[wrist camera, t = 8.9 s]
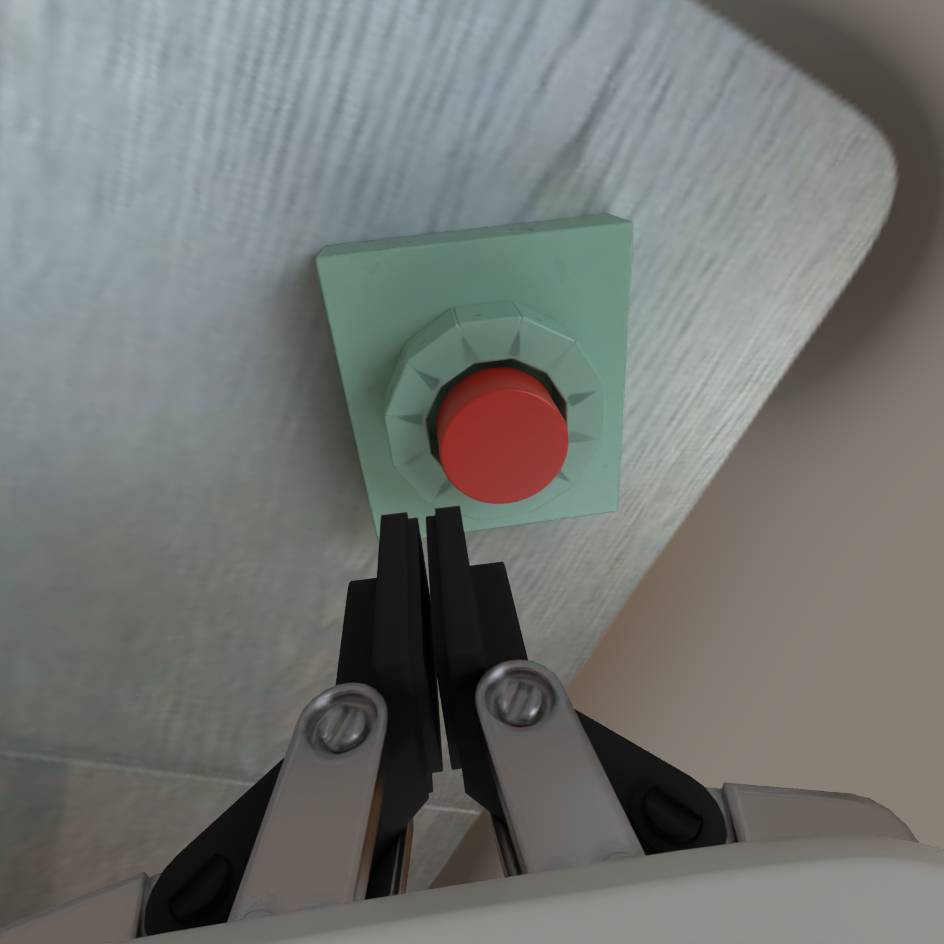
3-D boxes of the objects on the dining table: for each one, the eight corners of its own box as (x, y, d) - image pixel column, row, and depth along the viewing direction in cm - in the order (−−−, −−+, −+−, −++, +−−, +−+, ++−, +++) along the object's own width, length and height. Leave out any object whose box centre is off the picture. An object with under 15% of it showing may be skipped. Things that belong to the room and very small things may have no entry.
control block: (323, 245, 17) (302, 269, 14) (609, 212, 17) (660, 229, 14) (380, 511, 22) (376, 578, 19) (600, 481, 23) (636, 541, 19)
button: (428, 374, 16) (431, 398, 14) (553, 358, 16) (569, 380, 14) (443, 481, 18) (447, 513, 16) (555, 466, 18) (569, 496, 16)
